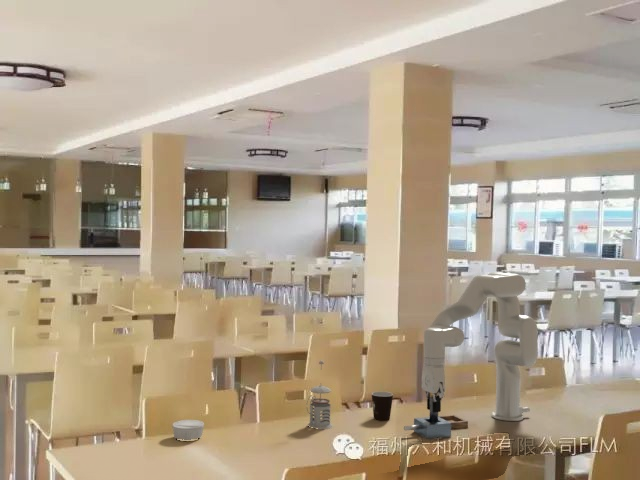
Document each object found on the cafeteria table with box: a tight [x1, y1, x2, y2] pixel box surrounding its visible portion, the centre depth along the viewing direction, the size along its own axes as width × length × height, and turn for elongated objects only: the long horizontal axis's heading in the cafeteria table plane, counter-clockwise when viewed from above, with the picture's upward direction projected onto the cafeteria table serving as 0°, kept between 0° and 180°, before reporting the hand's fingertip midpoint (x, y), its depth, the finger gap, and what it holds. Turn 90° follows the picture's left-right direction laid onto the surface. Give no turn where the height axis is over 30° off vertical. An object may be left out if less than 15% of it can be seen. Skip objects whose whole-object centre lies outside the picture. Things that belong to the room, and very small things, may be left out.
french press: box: [306, 360, 333, 430], centre depth 271 cm, size 10×12×25 cm
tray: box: [438, 414, 469, 430], centre depth 277 cm, size 12×10×2 cm
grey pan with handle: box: [403, 416, 452, 440], centre depth 263 cm, size 16×10×5 cm, turn 111°
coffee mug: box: [371, 391, 394, 422], centre depth 285 cm, size 12×9×10 cm
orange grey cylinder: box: [429, 392, 439, 423], centre depth 264 cm, size 3×3×12 cm
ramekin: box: [171, 419, 205, 440], centre depth 253 cm, size 11×11×5 cm
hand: (433, 410), depth 264 cm, fingers closed on orange grey cylinder, 3 cm apart
